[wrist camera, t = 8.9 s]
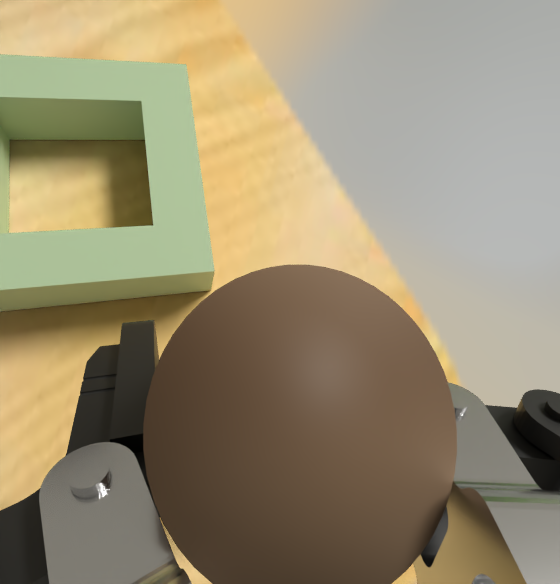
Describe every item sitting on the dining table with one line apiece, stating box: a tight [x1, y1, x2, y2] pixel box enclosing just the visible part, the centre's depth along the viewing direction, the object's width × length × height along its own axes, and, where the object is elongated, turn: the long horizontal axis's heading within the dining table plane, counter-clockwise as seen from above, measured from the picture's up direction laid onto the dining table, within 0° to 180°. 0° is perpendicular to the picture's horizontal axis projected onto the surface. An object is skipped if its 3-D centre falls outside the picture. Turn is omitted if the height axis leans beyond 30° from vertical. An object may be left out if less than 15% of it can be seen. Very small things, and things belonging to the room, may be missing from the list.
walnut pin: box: [143, 265, 457, 584], centre depth 9 cm, size 4×4×9 cm
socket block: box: [0, 54, 214, 312], centre depth 19 cm, size 12×12×3 cm
